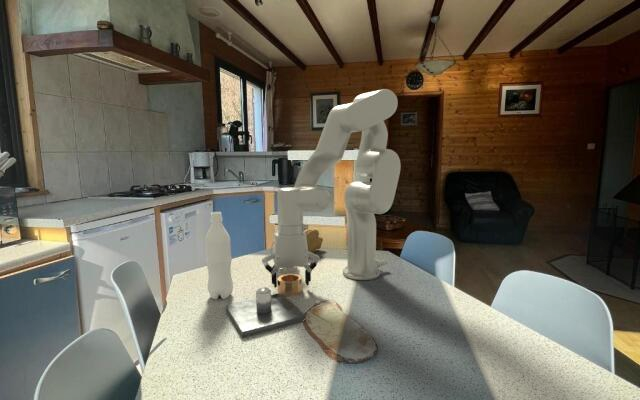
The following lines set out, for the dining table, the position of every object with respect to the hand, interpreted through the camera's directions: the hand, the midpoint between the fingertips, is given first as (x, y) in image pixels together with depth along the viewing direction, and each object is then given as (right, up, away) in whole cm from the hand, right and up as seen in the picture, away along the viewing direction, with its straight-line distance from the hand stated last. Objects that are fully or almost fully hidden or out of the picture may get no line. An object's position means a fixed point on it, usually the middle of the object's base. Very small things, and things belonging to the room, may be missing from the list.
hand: (291, 284), depth 106 cm
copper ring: (0, -2, 0) cm, 2 cm away
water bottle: (-20, -3, -3) cm, 21 cm away
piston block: (-6, -4, -15) cm, 17 cm away
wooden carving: (+4, +3, +37) cm, 38 cm away
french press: (-4, 0, +16) cm, 17 cm away
